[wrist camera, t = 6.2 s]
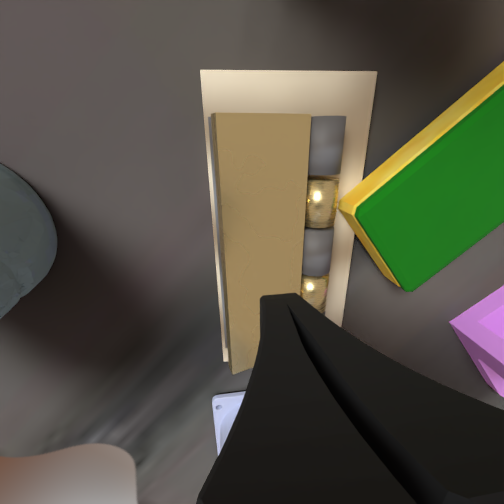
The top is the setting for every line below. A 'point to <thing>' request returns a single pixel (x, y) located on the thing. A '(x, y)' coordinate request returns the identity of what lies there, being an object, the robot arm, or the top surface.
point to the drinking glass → (22, 239)
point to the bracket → (485, 337)
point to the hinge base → (314, 103)
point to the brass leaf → (265, 218)
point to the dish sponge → (435, 189)
